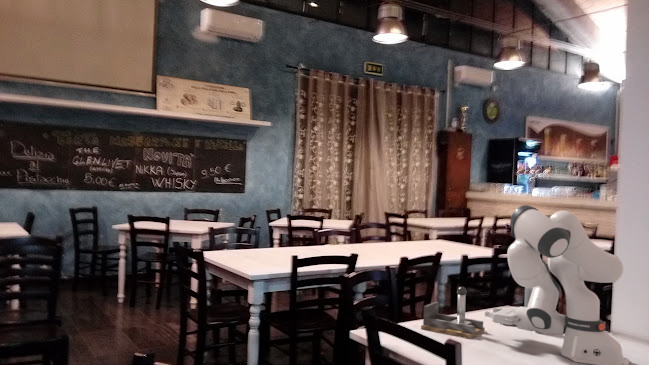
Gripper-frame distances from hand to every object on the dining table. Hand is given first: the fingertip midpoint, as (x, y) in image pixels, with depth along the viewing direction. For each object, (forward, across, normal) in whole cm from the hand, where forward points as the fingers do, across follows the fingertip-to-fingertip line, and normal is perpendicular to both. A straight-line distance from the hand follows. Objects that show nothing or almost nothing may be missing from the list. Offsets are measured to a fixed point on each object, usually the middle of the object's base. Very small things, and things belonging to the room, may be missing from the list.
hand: (489, 311), depth 223 cm
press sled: (+12, 0, -9) cm, 15 cm away
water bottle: (-5, +46, -9) cm, 47 cm away
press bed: (+15, 0, -10) cm, 19 cm away
